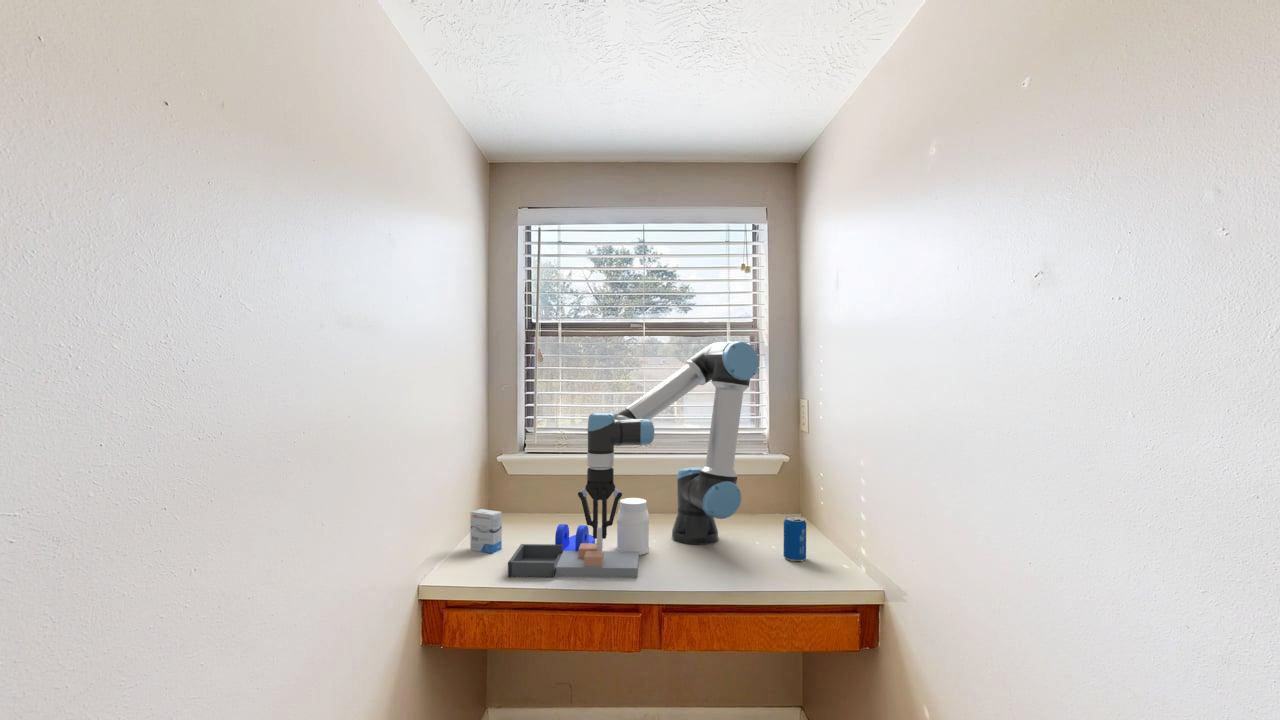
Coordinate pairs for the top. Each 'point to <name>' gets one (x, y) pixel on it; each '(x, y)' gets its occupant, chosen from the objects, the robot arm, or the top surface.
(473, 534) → the ink box
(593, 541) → the bracket
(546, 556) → the box
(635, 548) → the jar
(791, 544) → the beverage can
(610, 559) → the board
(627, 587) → the top surface
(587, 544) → the tile
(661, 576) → the top surface
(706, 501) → the robot arm
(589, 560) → the tile
